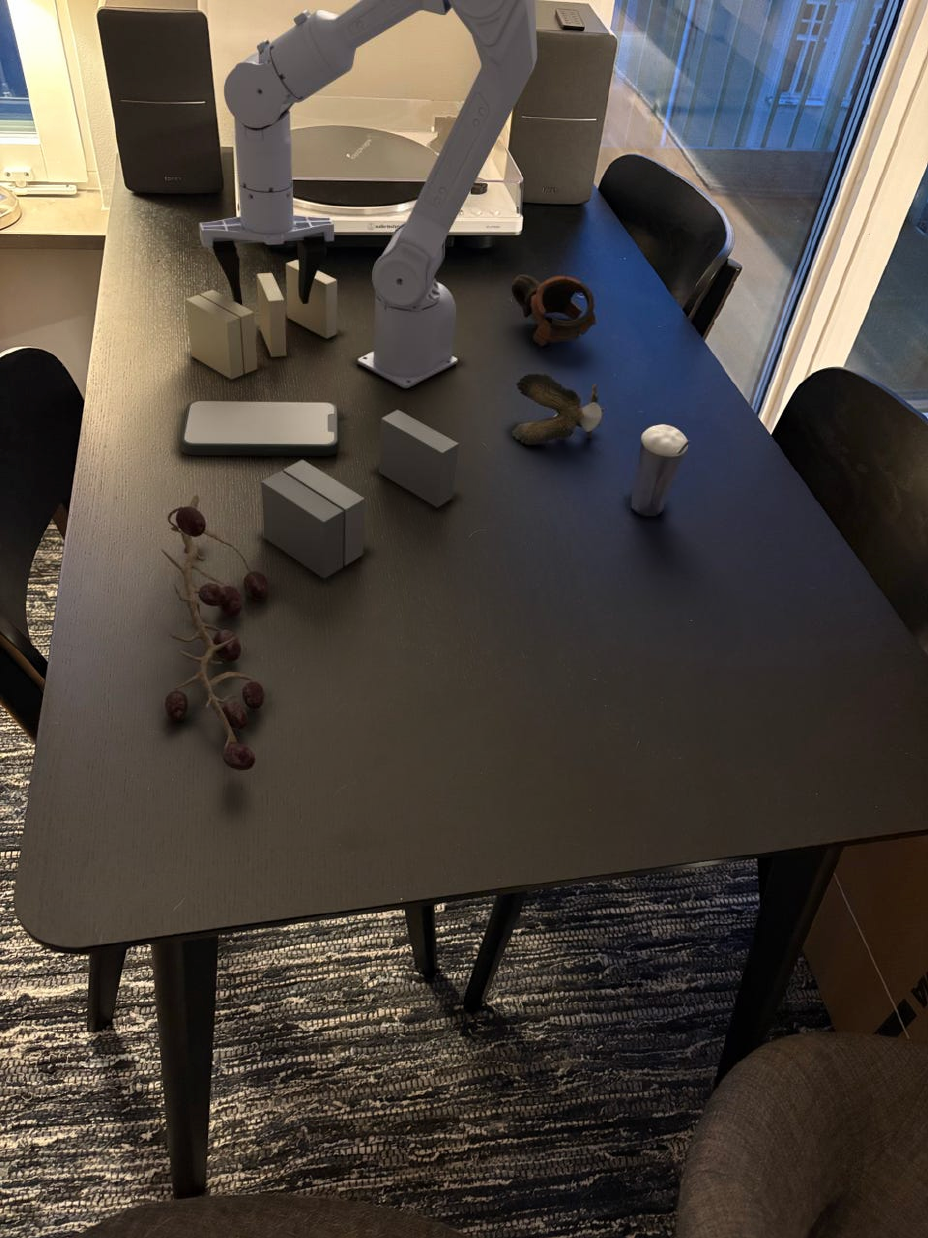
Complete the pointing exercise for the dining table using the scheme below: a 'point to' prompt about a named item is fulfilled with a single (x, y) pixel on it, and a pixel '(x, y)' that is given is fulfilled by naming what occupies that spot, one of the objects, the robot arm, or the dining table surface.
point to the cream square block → (271, 314)
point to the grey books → (352, 495)
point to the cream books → (229, 327)
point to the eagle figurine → (561, 401)
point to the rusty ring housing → (554, 306)
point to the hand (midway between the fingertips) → (271, 302)
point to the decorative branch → (215, 637)
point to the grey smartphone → (260, 428)
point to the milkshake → (657, 468)
